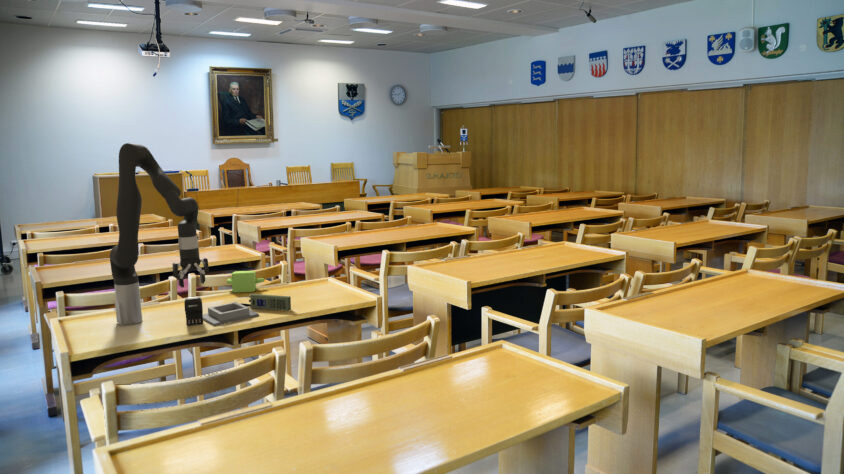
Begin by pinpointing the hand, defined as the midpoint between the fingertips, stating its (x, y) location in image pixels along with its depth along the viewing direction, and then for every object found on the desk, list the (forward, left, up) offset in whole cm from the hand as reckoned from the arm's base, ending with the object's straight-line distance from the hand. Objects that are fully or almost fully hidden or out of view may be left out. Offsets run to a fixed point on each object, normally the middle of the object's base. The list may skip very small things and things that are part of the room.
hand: (192, 285), depth 259 cm
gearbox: (+40, +36, -17) cm, 57 cm away
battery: (-1, 0, -17) cm, 17 cm away
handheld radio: (+32, 0, -17) cm, 36 cm away
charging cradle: (+14, 0, -17) cm, 22 cm away
